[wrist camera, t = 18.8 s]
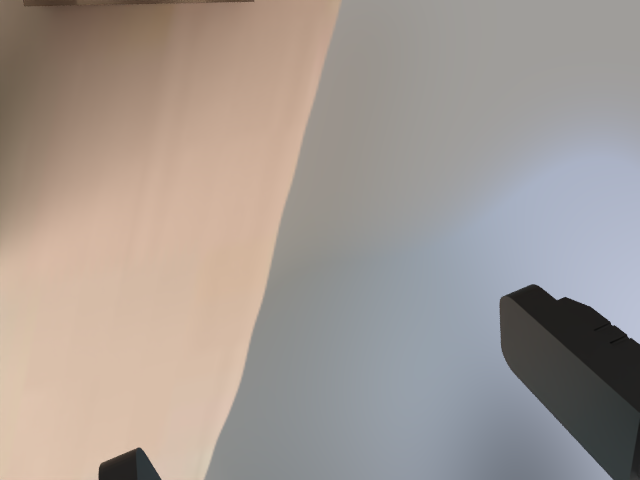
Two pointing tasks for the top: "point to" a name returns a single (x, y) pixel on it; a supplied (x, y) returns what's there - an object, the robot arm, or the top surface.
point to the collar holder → (116, 2)
